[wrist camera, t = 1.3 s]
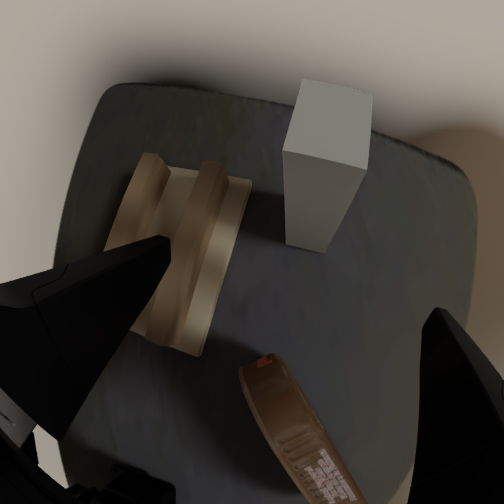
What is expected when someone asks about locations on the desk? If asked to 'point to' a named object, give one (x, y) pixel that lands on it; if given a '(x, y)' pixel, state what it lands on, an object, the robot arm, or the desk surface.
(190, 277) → the rack
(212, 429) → the desk surface
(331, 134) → the clay bar
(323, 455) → the tin
